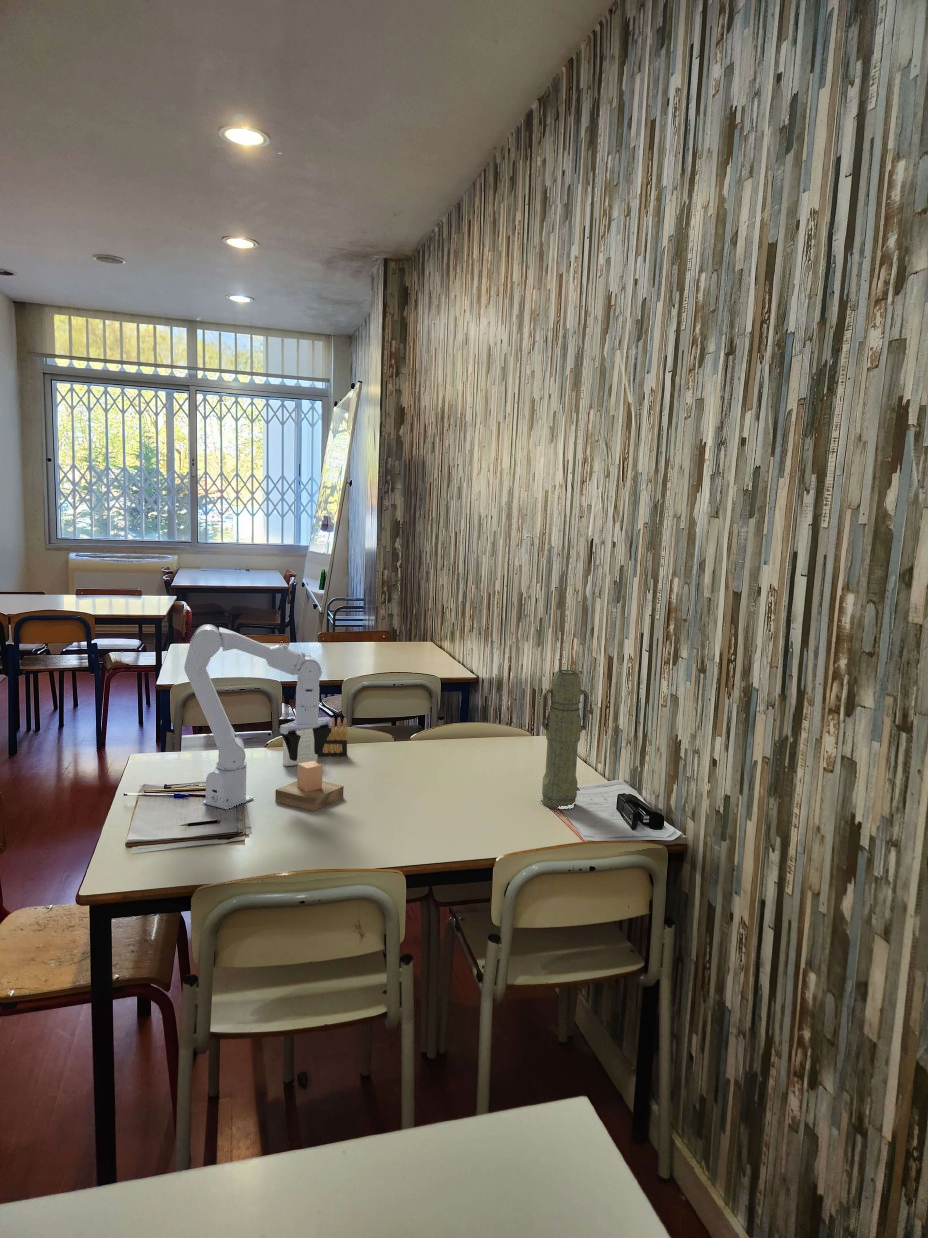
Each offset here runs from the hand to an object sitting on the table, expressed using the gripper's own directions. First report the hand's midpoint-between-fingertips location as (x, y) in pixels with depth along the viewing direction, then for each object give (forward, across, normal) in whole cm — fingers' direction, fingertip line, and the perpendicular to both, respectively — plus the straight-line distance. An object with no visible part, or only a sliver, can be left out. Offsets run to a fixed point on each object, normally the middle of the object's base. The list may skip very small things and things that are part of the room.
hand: (305, 757), depth 200 cm
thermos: (+10, -47, +46) cm, 66 cm away
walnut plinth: (+10, 0, +2) cm, 11 cm away
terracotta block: (+7, 0, +2) cm, 8 cm away
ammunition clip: (+11, -27, -25) cm, 38 cm away
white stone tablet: (+11, -16, -24) cm, 30 cm away
